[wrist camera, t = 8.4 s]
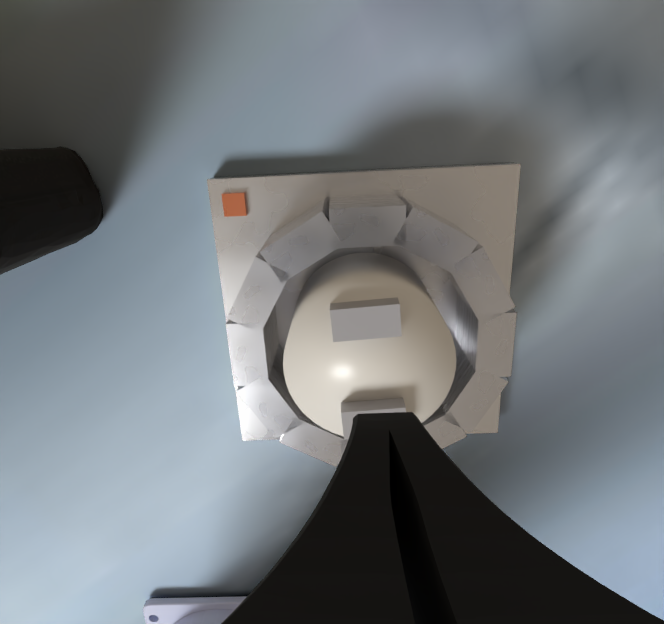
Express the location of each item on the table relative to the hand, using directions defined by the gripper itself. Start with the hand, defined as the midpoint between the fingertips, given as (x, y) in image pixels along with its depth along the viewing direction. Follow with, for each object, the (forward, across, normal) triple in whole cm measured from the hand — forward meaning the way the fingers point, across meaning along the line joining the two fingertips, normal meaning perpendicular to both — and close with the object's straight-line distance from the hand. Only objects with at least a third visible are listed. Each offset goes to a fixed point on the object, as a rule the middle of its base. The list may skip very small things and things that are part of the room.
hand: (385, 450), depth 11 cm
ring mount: (+9, 0, 0) cm, 9 cm away
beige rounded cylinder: (+8, 0, 0) cm, 8 cm away
